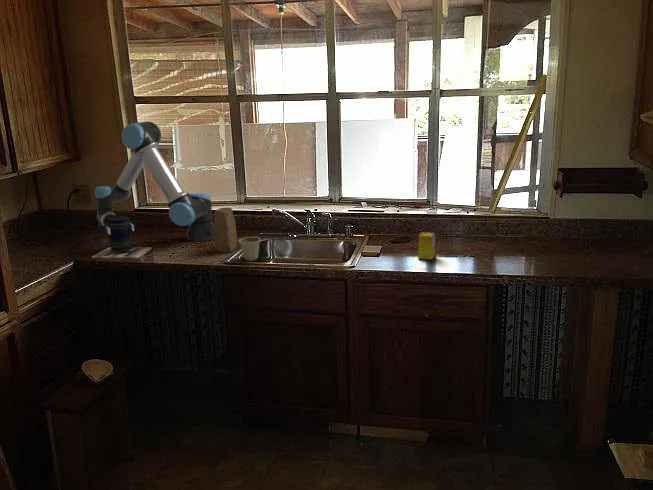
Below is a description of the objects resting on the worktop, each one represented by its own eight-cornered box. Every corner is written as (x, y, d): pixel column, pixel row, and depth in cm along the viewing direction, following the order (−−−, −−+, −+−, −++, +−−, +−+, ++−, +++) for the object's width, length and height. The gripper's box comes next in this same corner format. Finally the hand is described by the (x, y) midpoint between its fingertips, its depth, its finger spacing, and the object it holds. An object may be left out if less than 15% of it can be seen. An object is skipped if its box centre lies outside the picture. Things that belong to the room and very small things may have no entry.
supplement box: (421, 256, 251) (421, 232, 248) (434, 257, 249) (435, 232, 246) (418, 260, 246) (418, 235, 243) (432, 261, 244) (432, 236, 241)
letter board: (152, 248, 278) (151, 247, 278) (137, 258, 262) (136, 256, 262) (109, 248, 281) (109, 247, 281) (91, 257, 265) (91, 256, 265)
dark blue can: (136, 245, 275) (132, 215, 271) (127, 251, 266) (123, 220, 262) (116, 245, 276) (112, 215, 272) (106, 251, 267) (102, 220, 263)
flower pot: (251, 262, 250) (249, 243, 248) (235, 259, 256) (234, 240, 253) (266, 257, 257) (264, 238, 255) (250, 254, 263) (249, 236, 260)
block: (229, 253, 265) (225, 211, 260) (214, 252, 267) (210, 210, 262) (239, 247, 275) (236, 206, 269) (225, 246, 277) (222, 205, 272)
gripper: (134, 225, 290) (146, 233, 272) (87, 231, 278) (96, 241, 260) (132, 210, 288) (145, 218, 270) (85, 216, 276) (94, 225, 258)
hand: (121, 229), depth 265 cm, fingers closed on dark blue can, 10 cm apart
